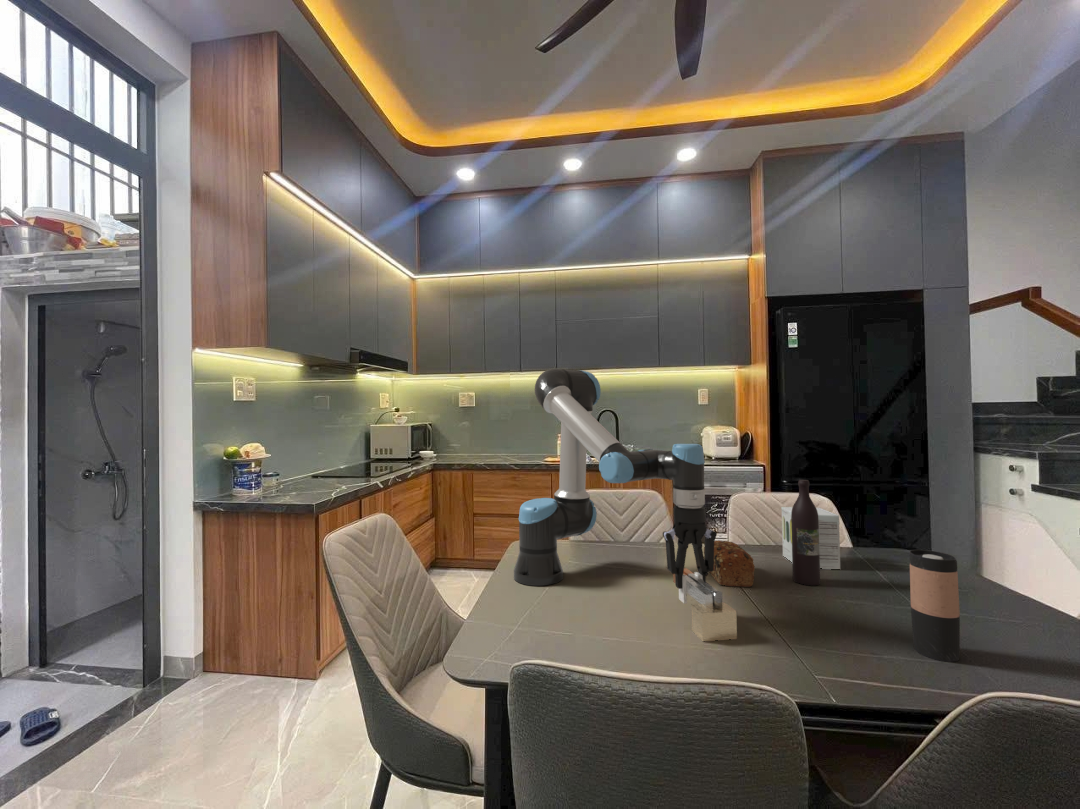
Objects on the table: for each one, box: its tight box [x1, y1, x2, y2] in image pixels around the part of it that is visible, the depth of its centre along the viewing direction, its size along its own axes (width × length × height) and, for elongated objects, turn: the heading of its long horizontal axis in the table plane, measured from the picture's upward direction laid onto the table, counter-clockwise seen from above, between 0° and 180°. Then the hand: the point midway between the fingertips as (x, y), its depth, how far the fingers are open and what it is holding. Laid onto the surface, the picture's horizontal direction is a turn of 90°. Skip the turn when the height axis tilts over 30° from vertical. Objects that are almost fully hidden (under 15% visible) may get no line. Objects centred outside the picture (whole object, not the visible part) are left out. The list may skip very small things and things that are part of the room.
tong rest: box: [672, 573, 738, 642], centre depth 109 cm, size 20×8×9 cm, turn 8°
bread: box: [703, 540, 756, 588], centre depth 140 cm, size 19×11×10 cm, turn 172°
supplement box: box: [781, 506, 841, 570], centre depth 152 cm, size 13×13×18 cm
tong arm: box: [683, 567, 723, 609], centre depth 110 cm, size 18×2×3 cm, turn 8°
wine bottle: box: [791, 479, 821, 587], centre depth 135 cm, size 7×7×30 cm
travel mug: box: [908, 549, 961, 663], centre depth 94 cm, size 8×8×20 cm
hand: (690, 600), depth 113 cm, fingers open, 4 cm apart
